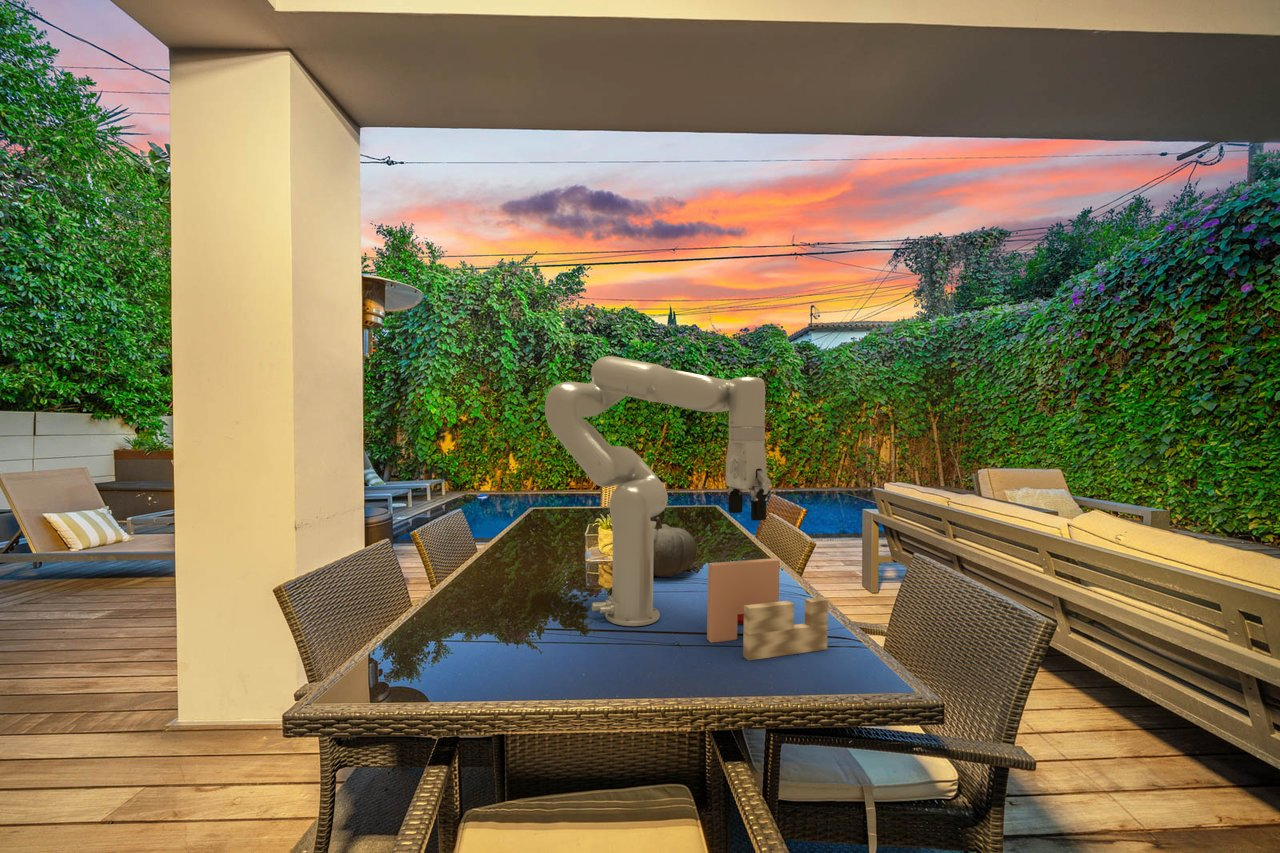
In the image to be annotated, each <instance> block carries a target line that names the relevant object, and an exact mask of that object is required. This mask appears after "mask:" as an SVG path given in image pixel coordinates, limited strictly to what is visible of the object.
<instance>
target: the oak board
mask: <svg viewBox="0 0 1280 853" xmlns="http://www.w3.org/2000/svg"><path fill="white" fill-rule="evenodd" d="M828 618H829V600H828V599H827V598H824V597H822V596H821V597H820V596H819V597H811V598H805V599H804V623H798V624H796V623H795V622H794V621H795V620H794V619H795V603H793V602H791V601H790V600H782V601H781V600H780V601H779V602H771V603H762V604H752V605H744V624H743V641H742V642H743V644H742V645H743V648H742V649H743V650H742V656H743V658H744V659H745V660H747V661H755V660H761V659H762V660H763V659H768V658H777V657H782V656H789V655H796V654H805V653H812V652H817V651H825V650H828V624H829V622H828V621H829V620H828Z"/></svg>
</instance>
